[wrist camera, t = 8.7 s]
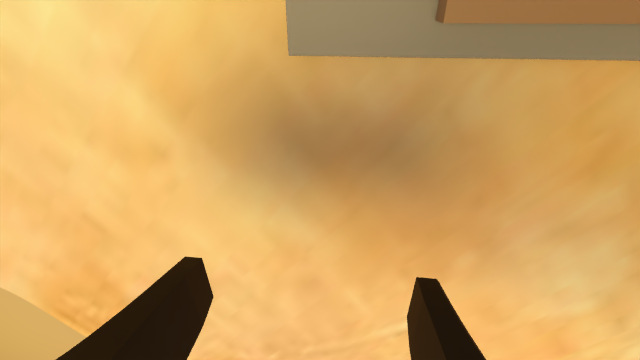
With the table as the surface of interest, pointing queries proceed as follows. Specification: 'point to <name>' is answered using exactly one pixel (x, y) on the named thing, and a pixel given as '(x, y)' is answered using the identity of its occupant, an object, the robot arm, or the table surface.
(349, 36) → the build base
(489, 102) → the table surface
